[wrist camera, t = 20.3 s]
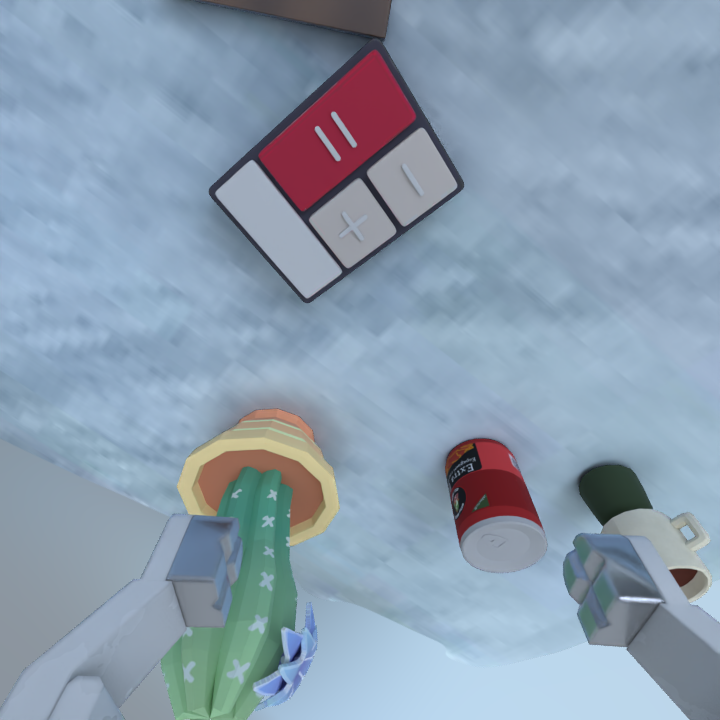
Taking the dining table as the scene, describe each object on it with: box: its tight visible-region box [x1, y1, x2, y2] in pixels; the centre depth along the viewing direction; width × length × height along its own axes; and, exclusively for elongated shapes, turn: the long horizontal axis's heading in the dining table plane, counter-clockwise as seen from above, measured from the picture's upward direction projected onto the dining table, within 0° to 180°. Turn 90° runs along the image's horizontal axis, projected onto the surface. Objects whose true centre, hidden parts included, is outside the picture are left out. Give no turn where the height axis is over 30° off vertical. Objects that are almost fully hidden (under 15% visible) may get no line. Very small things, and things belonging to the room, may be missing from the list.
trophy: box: [579, 465, 712, 603], centre depth 44 cm, size 11×7×13 cm, turn 146°
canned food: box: [445, 439, 547, 573], centre depth 44 cm, size 8×8×11 cm
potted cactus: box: [161, 409, 340, 720], centre depth 37 cm, size 15×15×25 cm
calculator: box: [209, 38, 464, 303], centre depth 32 cm, size 11×4×15 cm
